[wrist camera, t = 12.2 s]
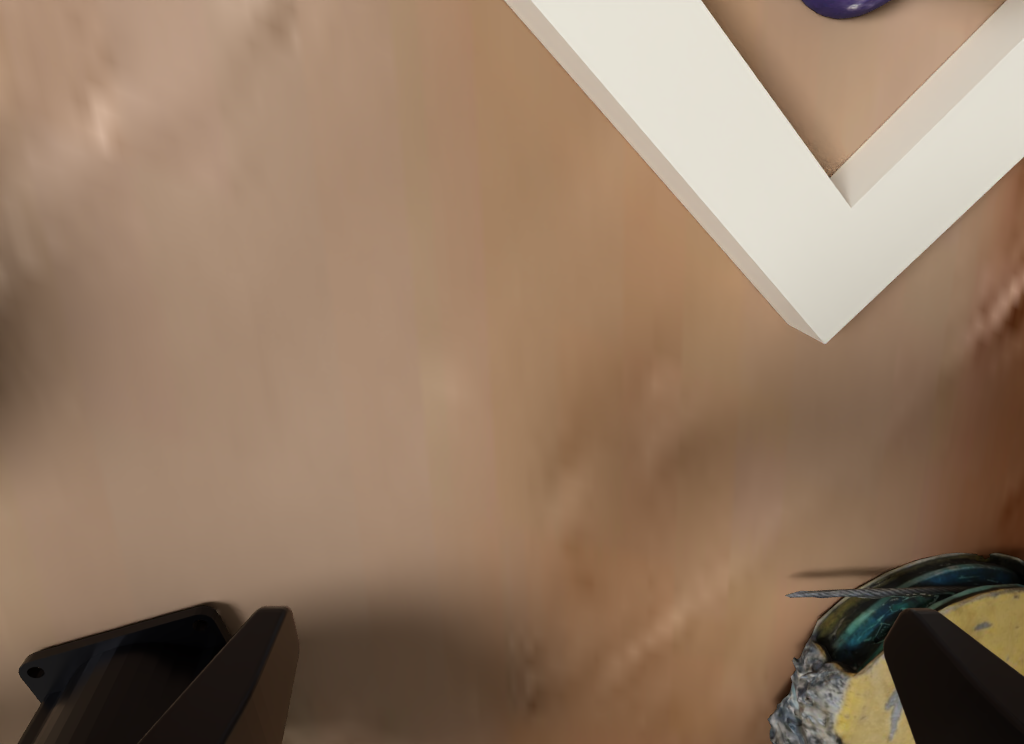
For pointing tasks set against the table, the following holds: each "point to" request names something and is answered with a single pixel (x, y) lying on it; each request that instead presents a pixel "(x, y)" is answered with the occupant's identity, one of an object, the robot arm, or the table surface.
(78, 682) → the robot arm
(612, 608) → the table surface
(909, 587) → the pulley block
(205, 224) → the table surface
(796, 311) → the cutout frame
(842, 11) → the toy lamp
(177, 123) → the table surface
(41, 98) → the table surface
